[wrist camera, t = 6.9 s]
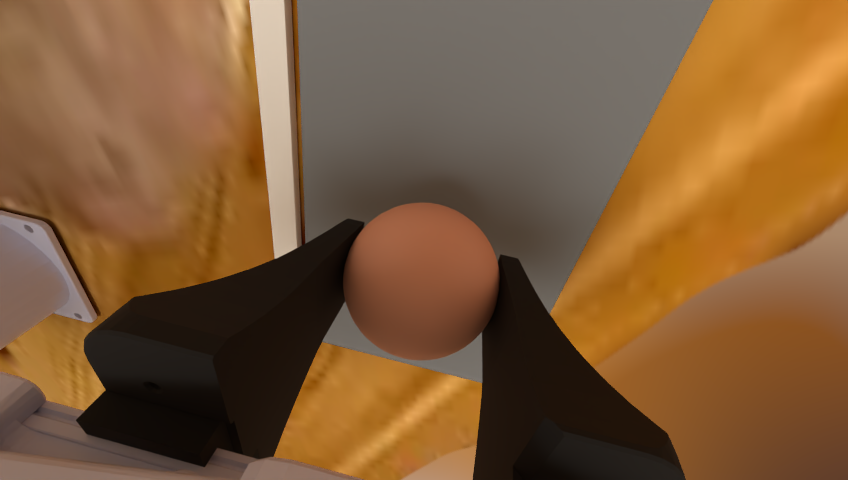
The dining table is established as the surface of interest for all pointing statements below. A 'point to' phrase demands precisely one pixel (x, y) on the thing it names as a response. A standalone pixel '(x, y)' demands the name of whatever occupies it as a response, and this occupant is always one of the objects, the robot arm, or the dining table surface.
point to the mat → (462, 120)
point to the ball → (421, 281)
